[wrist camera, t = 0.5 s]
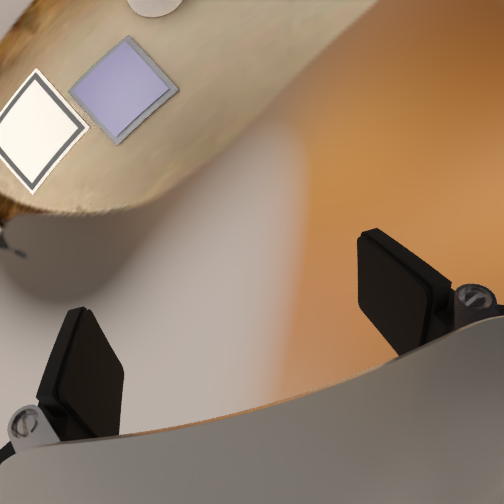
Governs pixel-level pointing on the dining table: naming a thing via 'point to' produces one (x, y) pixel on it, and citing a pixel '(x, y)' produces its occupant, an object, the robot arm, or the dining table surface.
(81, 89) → the ink pad
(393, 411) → the robot arm
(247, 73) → the dining table surface
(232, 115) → the dining table surface
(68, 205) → the dining table surface
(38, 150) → the marked card
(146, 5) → the can
